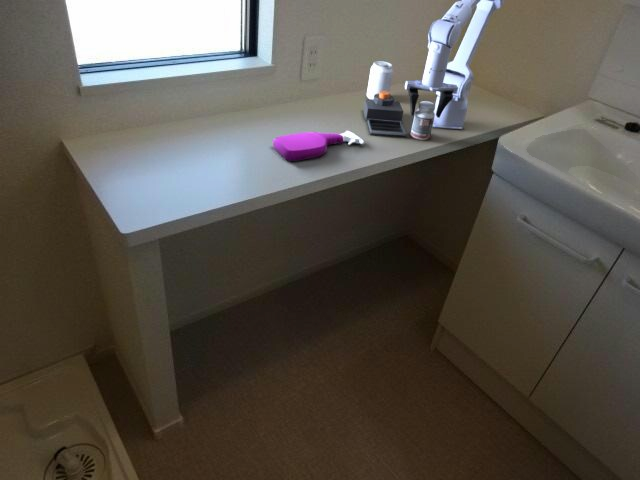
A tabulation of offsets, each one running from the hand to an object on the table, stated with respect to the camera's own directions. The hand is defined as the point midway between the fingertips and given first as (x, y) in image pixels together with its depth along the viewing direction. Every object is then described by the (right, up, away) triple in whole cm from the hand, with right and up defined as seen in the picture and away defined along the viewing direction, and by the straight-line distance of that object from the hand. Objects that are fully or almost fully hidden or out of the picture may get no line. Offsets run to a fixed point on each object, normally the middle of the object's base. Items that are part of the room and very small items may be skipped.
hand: (424, 115), depth 140 cm
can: (-11, +12, +26) cm, 30 cm away
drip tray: (-11, -3, +5) cm, 12 cm away
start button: (-10, +8, +11) cm, 17 cm away
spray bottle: (-31, -11, -8) cm, 33 cm away
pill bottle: (-1, -5, +4) cm, 7 cm away
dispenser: (-11, +3, +13) cm, 17 cm away
